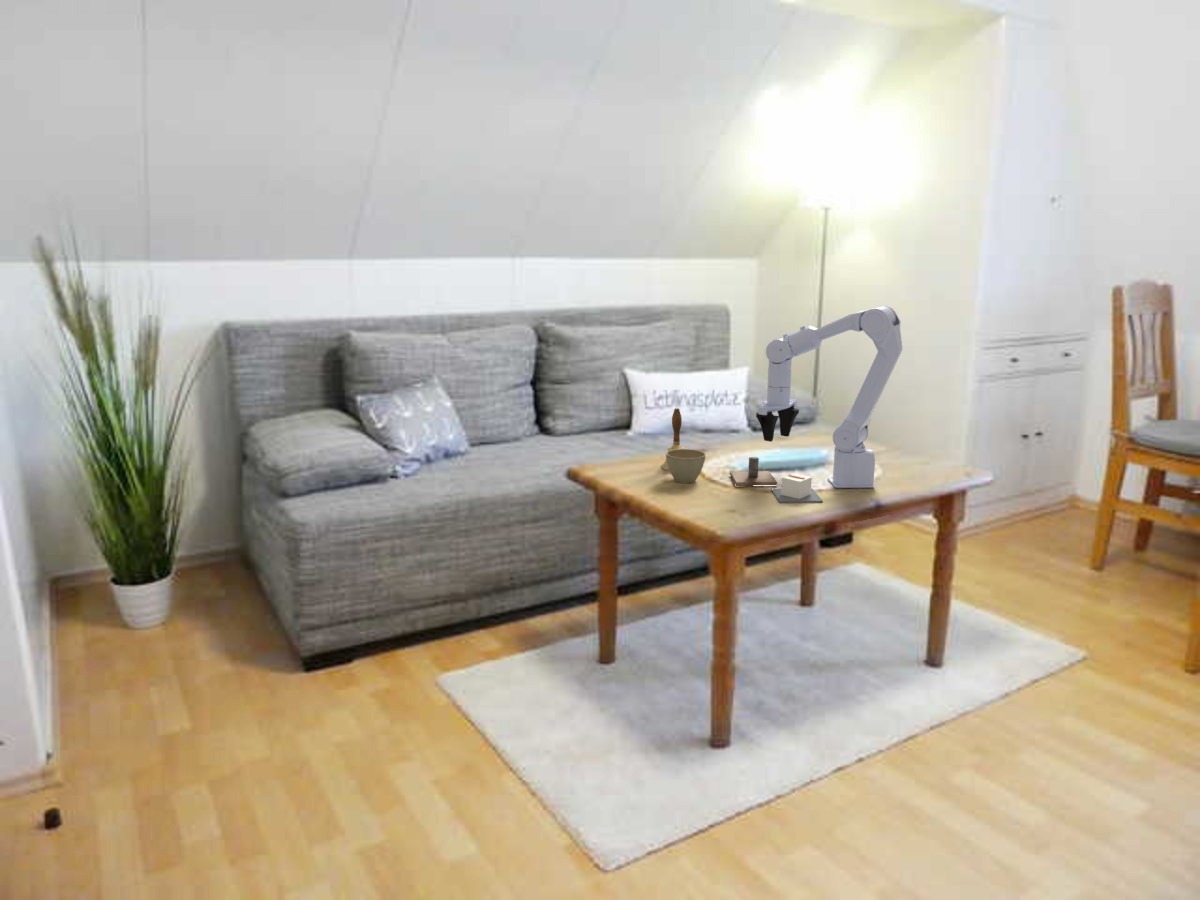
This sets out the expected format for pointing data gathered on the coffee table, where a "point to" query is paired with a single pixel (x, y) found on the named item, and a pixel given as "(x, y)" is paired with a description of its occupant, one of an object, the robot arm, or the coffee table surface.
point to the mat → (807, 499)
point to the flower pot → (685, 464)
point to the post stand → (752, 475)
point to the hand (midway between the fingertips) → (776, 438)
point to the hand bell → (675, 435)
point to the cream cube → (796, 486)
